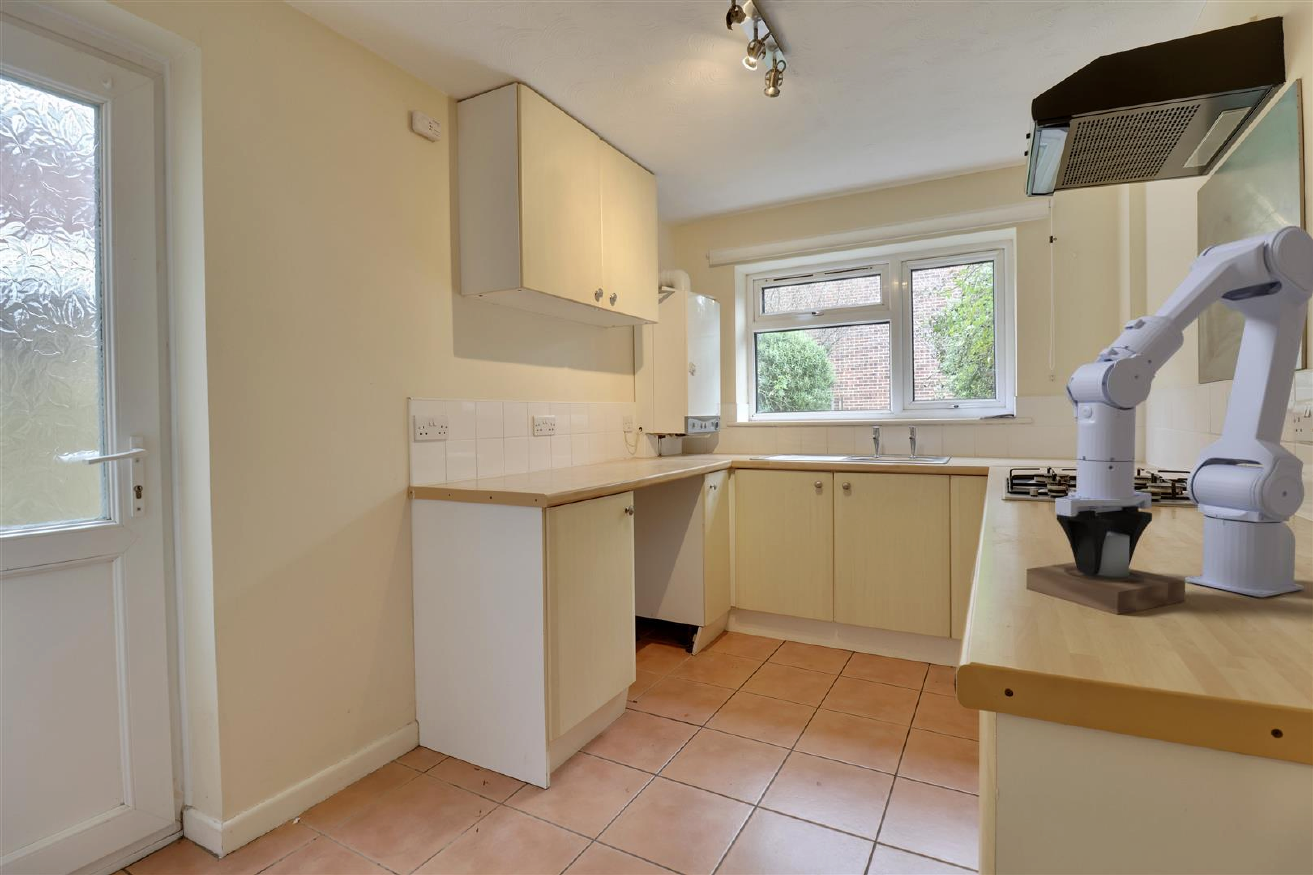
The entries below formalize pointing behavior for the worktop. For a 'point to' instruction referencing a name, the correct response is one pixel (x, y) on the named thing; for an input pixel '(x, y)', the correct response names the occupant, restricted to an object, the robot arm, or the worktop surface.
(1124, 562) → the peg
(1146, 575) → the board
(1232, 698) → the worktop surface
